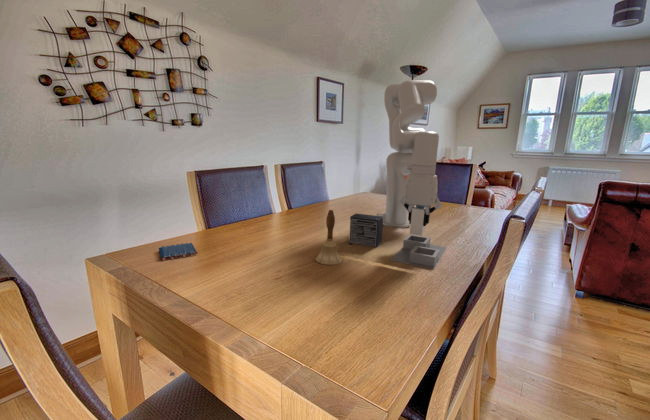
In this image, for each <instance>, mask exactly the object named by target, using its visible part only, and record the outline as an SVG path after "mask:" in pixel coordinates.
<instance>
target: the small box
mask: <svg viewBox="0 0 650 420" xmlns="http://www.w3.org/2000/svg"><path fill="white" fill-rule="evenodd" d="M349 218H350V219H349V220H350V224H349V243H348V245H350V246H353V245H354V244H355V245H363V246H368V247H374V248H378V247H379V246H380V245H382V244H381V243H382V242H383V228H384V227H383V226H384V225H383V216H376V215H372V214H364V213H354V214H353V215H351V216H350V217H349Z"/></svg>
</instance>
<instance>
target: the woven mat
mask: <svg viewBox="0 0 650 420" xmlns="http://www.w3.org/2000/svg"><path fill="white" fill-rule="evenodd" d="M158 252H159V256H160V260H161V261H163V262H164V261H166V260H167V261H170V260H174V259H178V258H179V259H182V258H186V257H187V258H189V257H193V256H197V254H198V251H197V249H196V248H195V247H194V244H193V243H192V242H186V243H180V244H179V243H178V244H170V245H163V246H160V247H158Z"/></svg>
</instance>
